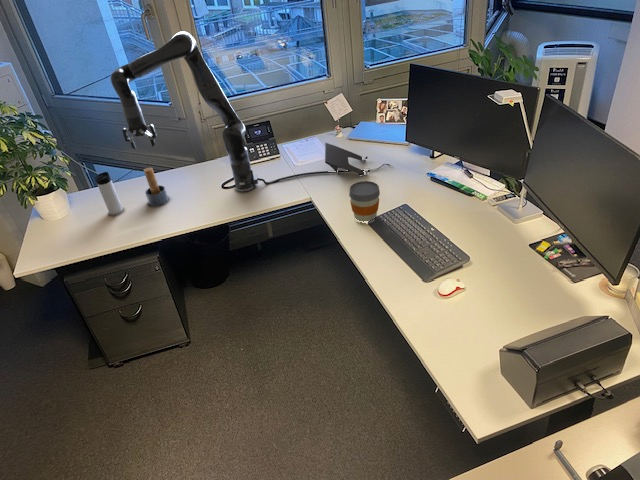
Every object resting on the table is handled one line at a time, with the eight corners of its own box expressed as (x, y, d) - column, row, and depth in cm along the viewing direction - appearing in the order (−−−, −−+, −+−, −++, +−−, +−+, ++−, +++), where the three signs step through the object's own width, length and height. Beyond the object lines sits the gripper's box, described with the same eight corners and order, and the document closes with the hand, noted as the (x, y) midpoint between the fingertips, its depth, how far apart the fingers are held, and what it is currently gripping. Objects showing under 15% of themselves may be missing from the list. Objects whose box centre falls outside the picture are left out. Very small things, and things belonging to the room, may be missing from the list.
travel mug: (126, 209, 224) (112, 172, 212) (117, 216, 219) (102, 178, 207) (116, 207, 226) (101, 171, 214) (107, 215, 221) (91, 177, 209)
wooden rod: (162, 197, 228) (152, 166, 219) (163, 201, 225) (152, 170, 215) (154, 199, 228) (143, 168, 218) (154, 203, 224) (143, 172, 215)
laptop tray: (362, 189, 230) (370, 174, 225) (319, 174, 225) (326, 158, 220) (360, 168, 249) (367, 153, 244) (320, 154, 244) (326, 138, 239)
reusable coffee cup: (360, 230, 191) (359, 199, 182) (345, 216, 200) (343, 186, 192) (386, 220, 195) (385, 189, 186) (369, 207, 205) (368, 177, 196)
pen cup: (167, 195, 231) (164, 183, 228) (169, 203, 224) (165, 192, 220) (149, 199, 229) (145, 188, 226) (149, 208, 222) (145, 196, 218)
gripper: (150, 109, 213) (160, 142, 222) (119, 113, 212) (130, 146, 221) (147, 115, 207) (158, 148, 216) (115, 119, 206) (127, 152, 215)
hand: (144, 147), depth 219 cm, fingers open, 8 cm apart
